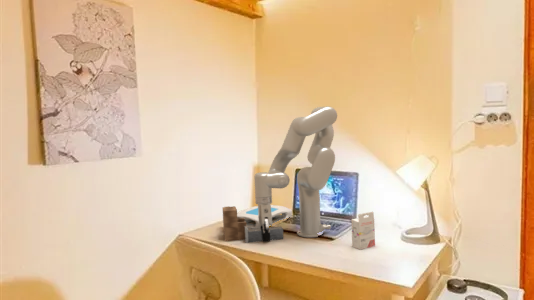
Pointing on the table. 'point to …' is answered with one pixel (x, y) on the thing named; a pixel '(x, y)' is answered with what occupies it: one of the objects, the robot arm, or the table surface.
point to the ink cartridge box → (363, 231)
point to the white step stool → (253, 215)
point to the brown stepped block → (233, 225)
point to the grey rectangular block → (257, 234)
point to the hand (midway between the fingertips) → (265, 238)
